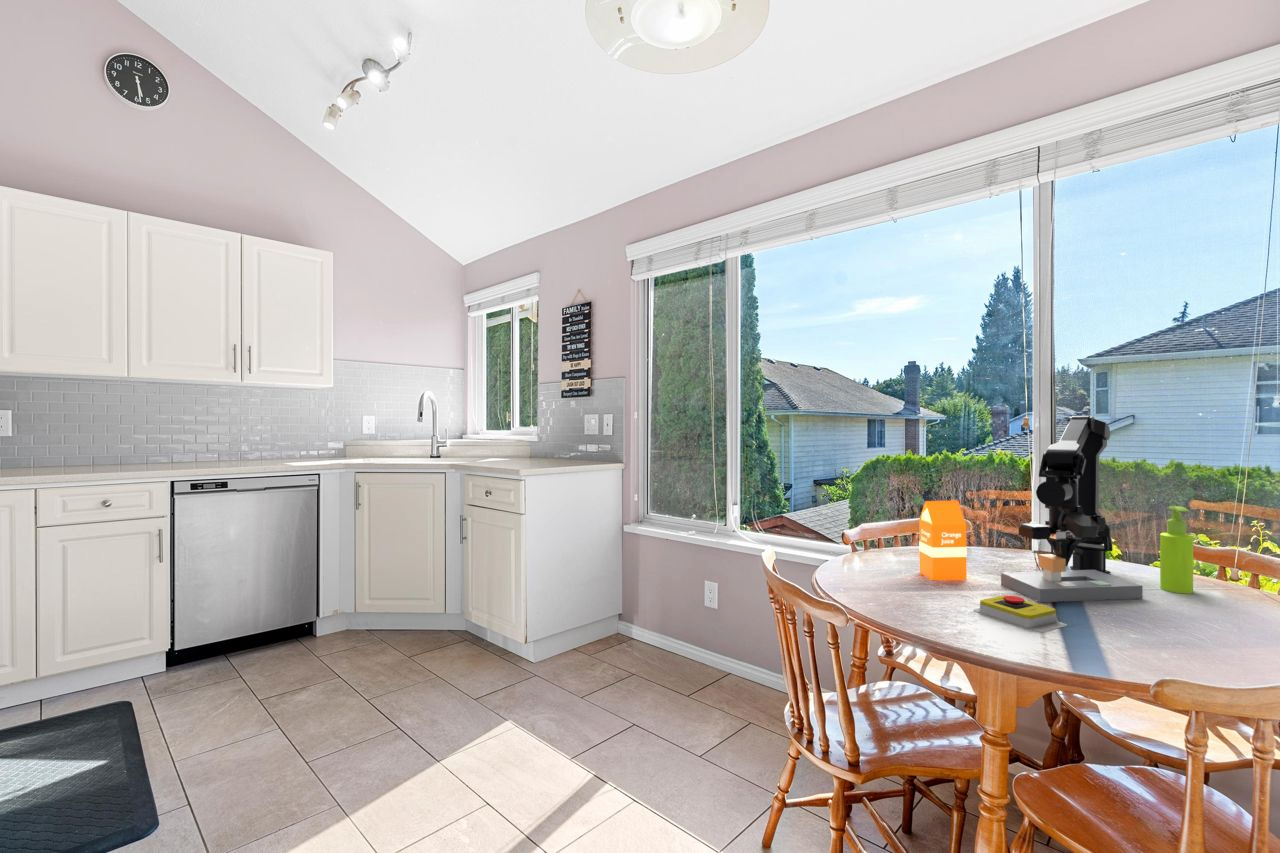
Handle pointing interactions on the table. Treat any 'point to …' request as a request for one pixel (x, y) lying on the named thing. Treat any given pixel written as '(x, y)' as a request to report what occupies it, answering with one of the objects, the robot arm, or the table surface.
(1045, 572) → the lever
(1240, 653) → the table surface
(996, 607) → the emergency button
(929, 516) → the orange juice
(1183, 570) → the soap dispenser
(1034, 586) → the breaker box
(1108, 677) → the table surface
